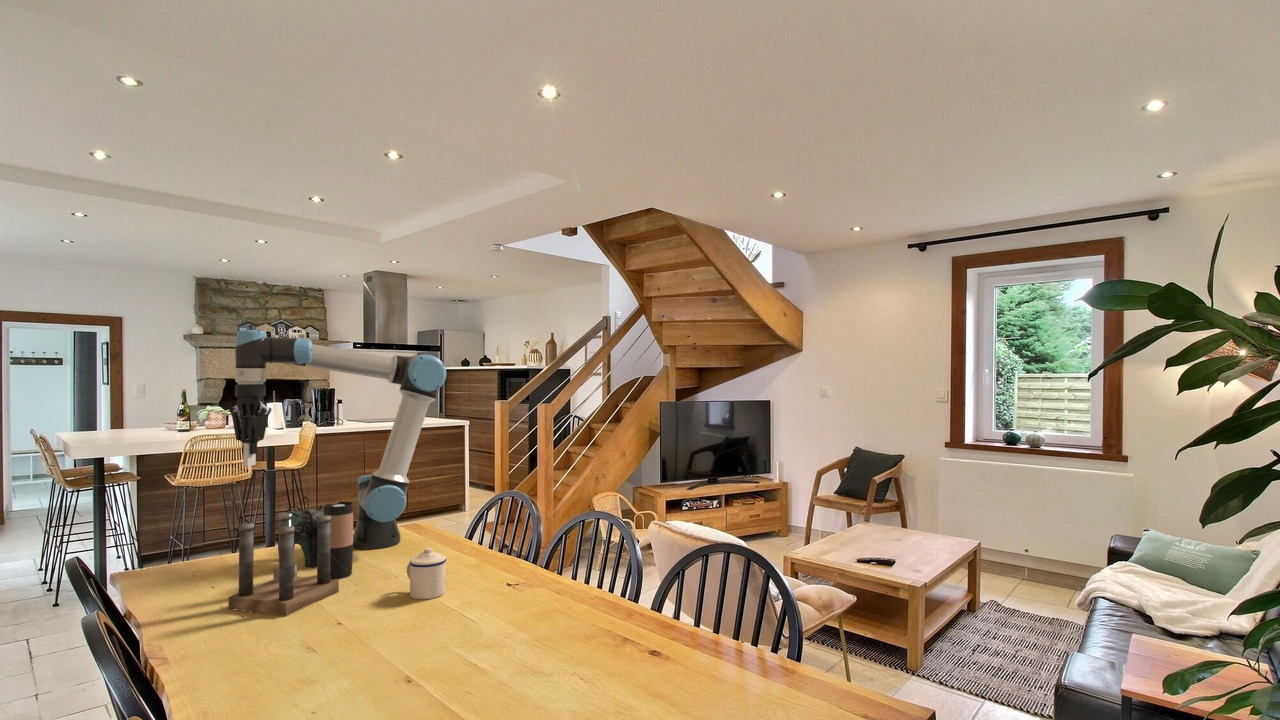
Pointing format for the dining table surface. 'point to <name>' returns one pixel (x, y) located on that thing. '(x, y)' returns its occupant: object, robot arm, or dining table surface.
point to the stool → (283, 574)
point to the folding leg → (285, 521)
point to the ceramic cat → (306, 532)
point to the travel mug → (340, 539)
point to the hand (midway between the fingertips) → (249, 465)
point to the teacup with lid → (427, 575)
